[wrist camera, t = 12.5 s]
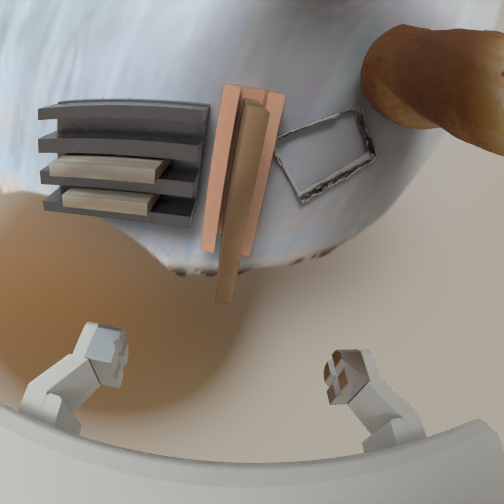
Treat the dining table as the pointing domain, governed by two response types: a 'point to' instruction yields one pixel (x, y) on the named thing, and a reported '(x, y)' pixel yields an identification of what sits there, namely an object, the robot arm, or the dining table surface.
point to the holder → (224, 159)
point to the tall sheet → (240, 194)
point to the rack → (131, 150)
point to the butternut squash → (440, 82)
